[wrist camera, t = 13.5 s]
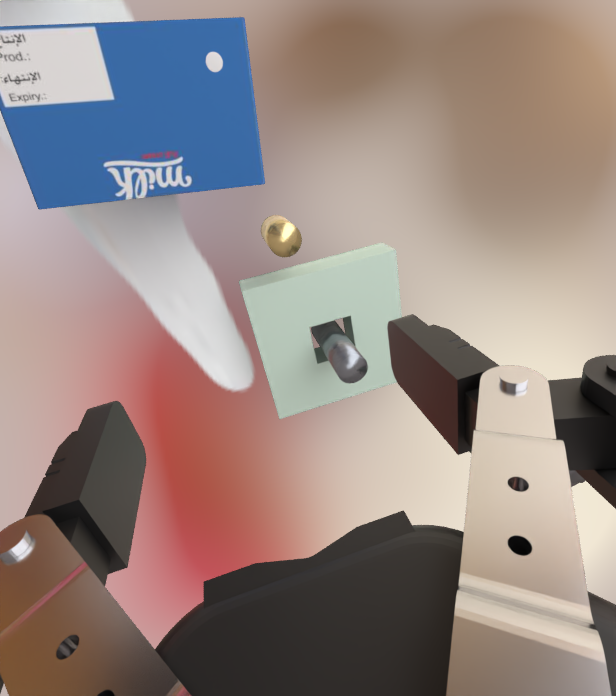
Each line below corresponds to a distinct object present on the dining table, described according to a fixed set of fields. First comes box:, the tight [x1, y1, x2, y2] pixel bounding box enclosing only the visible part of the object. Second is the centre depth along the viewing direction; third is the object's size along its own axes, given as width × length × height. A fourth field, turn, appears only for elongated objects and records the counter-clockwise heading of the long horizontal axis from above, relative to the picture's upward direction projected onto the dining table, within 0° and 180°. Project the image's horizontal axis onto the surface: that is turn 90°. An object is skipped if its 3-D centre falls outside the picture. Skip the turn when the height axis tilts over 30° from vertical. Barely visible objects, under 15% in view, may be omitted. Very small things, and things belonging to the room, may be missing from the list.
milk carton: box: [0, 17, 265, 209], centre depth 25 cm, size 10×6×20 cm, turn 95°
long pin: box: [311, 320, 368, 383], centre depth 41 cm, size 3×3×10 cm
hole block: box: [239, 243, 402, 419], centre depth 44 cm, size 16×16×4 cm
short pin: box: [261, 215, 302, 257], centre depth 37 cm, size 3×3×5 cm
